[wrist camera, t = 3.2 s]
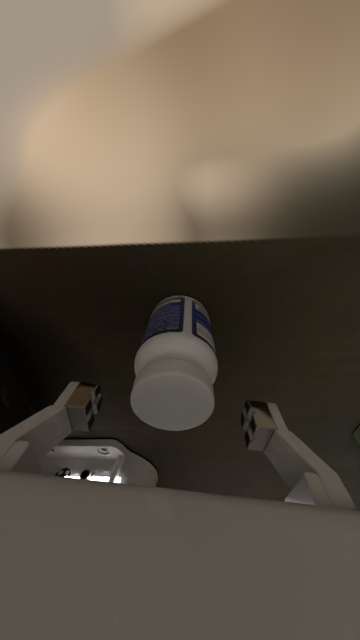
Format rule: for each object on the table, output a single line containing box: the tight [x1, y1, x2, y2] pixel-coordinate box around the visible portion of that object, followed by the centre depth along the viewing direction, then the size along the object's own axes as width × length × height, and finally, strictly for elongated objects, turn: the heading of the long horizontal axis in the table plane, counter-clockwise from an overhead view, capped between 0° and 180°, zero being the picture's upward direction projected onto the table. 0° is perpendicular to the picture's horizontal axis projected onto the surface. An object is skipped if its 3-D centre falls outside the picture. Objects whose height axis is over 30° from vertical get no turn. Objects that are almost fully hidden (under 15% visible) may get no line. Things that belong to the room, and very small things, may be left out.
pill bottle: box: [130, 296, 218, 431], centre depth 15 cm, size 6×6×10 cm
